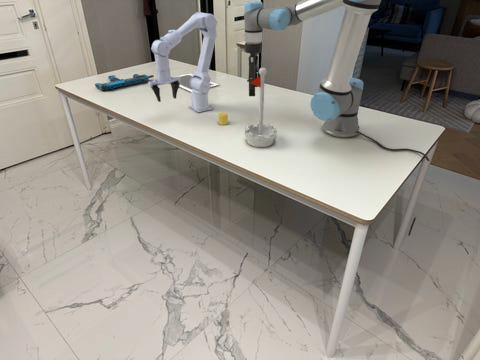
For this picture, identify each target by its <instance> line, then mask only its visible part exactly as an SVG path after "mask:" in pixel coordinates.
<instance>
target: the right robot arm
mask: <svg viewBox="0 0 480 360" xmlns="http://www.w3.org/2000/svg"><path fill="white" fill-rule="evenodd" d="M381 3H382V0H300V1H298V2H295V3H293V4H290V5H287V6H281V7H275V8H271V7H267V8H266V7H264V4H263V2H262V1H247V2H245V3H244V8H243V9H244V13H243V17H244V18H243V19H244V21H243V22H244V33H243V35H242V36H243V37H244V42H245V43H244V52H245V54H249V56H248V79H247V80H246V82H247V83H248V97H256V88H259V87H258V86H255V85H253V84H251V83H250V82H252V81H253V80H255V79H256V78H258V77H259V70H260V69H259V55H258V54H260V53H262V52H263V43H262V42H263V32H264V31H263V29H265V30H274V31H285V30H286V28H288V27H291V26H296V25H297V26H298V25H299V24H301V23H303V22H305V21H308V20H310V19H312V18H315V17H318V16H320V15H324V14H326V13H328V12H331V11H333V10H336V9H338V8H342V7H344V9H345V10H344V13H343V16H342V20H341V24H340V26H339V27H340V28H339V31H338V34H337V37H336V42H335V45H334V48H333V52H332V55H331V59H330V63H329V67H328V70H327V74H326V76H325V77H324V78H323V79H321V80H320V83H319V87H318V90H317V92H316V93H315V94H314V95H313V96H312V97H311V99H310V109H311V112H312V113H313V116H314V117H316V118H317V119H318V120H321V121H323V122H324V123H323V126H322V130H323V132H324V133H325V134H326V135H329V136H332V137H335V138H339V139H341V138H342V139H349V138H354V137H356V136H357V135H360V136H363V137H364V138H367V139H369V140H370V141H372V142H374V143H375V144H376V145H378V146H379V147H381V148H382V149H384V150H387V151H393V152H395V151H396V152H397V151H399V152H400V151H410V152H413V153H417V154H420V155H422V156H423V157H424V158H425V159H426V161H427V162H431V161H430V158H429V157H428V155H426V154H425V153H424V152H422V151H420V150H416V149H412V148H390V147H386V146H385V145H383V144H382V143H380V142H379V141H377V140H375V139H374V138H372V137H370V136H368V135H367V134H365V133H362V132H361V131H360V125H359V118H358V117H359V116H358V114H359V111H360V110H359V109H360V105H361V101H362V95H363V90H364V81H363V80H362V79H359V78H355V77H352V75H353V71H354V70H355V69H354V68H355V67H356V63H357V59H358V56H359V53H360V51H361V48H362V45H363V40H364V39H365V35H366V32H367V29H368V26H369V22H370V20H371V16H372V15H373V14H374V13H375V12H377V11H378V10H379V7H380V5H381ZM416 220H417V217H414V218H413V220H412V223H411V225H410V228H409V230H408V234H407V237H410V236H411V232H412V230H413V227H414V224H415V222H416Z"/></svg>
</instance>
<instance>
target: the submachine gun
mask: <svg viewBox="0 0 480 360" xmlns="http://www.w3.org/2000/svg"><path fill="white" fill-rule="evenodd" d="M107 77H108V80H109V82H103V83H100V82H96V83H94V86H95V88H97V89H98V90H100V91H107V90H113V91H114V90H115V89H116V88H120V87H125V86H129V85H134V84H138V83H139V84H140V83H145V82H146V83H147V81H148V80H150V79H151V78H154V77H155V76H154V74H151V75H147V74H138V73H134V74H133V75H132V77H129V78H121V79H120V78H118V77H117V76H116V75H113V74H112V75H108V76H107Z"/></svg>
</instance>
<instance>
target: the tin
mask: <svg viewBox="0 0 480 360" xmlns="http://www.w3.org/2000/svg"><path fill="white" fill-rule="evenodd" d="M228 113H229V112H228ZM228 113H227V112H225V111H222V112H218V115H217V116H218V124H219V125H221V126H226V125H228V124H229V114H228Z"/></svg>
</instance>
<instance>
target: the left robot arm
mask: <svg viewBox="0 0 480 360" xmlns="http://www.w3.org/2000/svg"><path fill="white" fill-rule="evenodd" d="M217 24H218V20H217V18H216V17H215V15H214V14H212V13H206V12H201V11H197V12H195V13H194V14H192V15H191V16H190V18H189V19H188V20H186V21H185V22H184V23H182V25H181V26H179V28H177V29H169V30H168V31H167V33H166V34H165V35H164V36H160V38H159V39H155V40H154V41H153V42H152V44H151V47H150V50H151V52H152V53H153V55H154V61H155V69H156V75H157V79H154V80H151V81H148V82H147V83H148V87H149V88H151V90H152V91H153V93H154V95H155V97H156V100H157V102H159V103H161V102H162V101H161V88H160V87H159V86H163V85H167V84H170V87H171V93H172V94H171V95H172V98H173V99H177V96H178V91H179V88H180V87H179V86H180V83H178V82H181V80H180V77H176V76H171V67H170V58H169V56H170V53H171V50H172V49H173V48H175V47H176V46H177V45H178V44H180V43H181V42H182V38H183V37H184V36H186V35H187V34H189V33H190V32H192V31H193V30H195V29H198V30H199V31H200V32H201V34H202V36H203V39H202V46H201V49H200V53H199V58H198V62H197V68H196V70H195V71H194V72H193V73H192V74H193V76H192V78H191V79H190V87H191V88H192V90H193V91H192V92H190V106H189V108H191V109H192V110H193V111H195V112H196V113H202V112H206V111H210V110H213V107H211V106H210V105H209V91H210V89H211V88H210V81H211V76H210V74H209V71H210V66H211V62H212V58H213V52H214V49H215V43H216V41H217V40H216V39H217Z"/></svg>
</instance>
